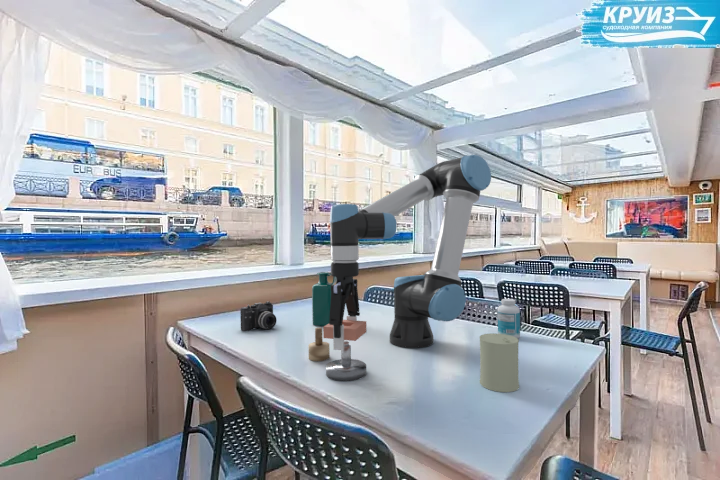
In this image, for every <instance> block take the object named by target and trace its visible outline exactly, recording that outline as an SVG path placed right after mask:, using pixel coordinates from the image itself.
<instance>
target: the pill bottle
mask: <svg viewBox="0 0 720 480" xmlns="http://www.w3.org/2000/svg"><path fill="white" fill-rule="evenodd" d="M500 304H501V305H499V306H498V307H497V334H505V335H510V336H513V337H516V338H517V339H518V340H519V339H520V338H521V314H520V313H521V309H520V308H519V306H517V305H516V299H515V298H502V299H501V303H500Z"/></svg>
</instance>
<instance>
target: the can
mask: <svg viewBox="0 0 720 480" xmlns="http://www.w3.org/2000/svg"><path fill="white" fill-rule="evenodd" d="M519 342H520V340H519V338H518V339H517V338H516V337H513V336H510V335H505V334H498V333H484V334H481V335H480V336H479V359H480V360H479V362H480V364H479V365H480V369H479V372H480V375H479V377H480V378H479V384H480V385H481V387H483V388H485V389H487V390H490V391H492V392H499V393H513V392H516V391H518V390H519V389H520V384H519V383H520V382H519V381H520V380H519Z"/></svg>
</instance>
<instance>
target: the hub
mask: <svg viewBox="0 0 720 480" xmlns="http://www.w3.org/2000/svg"><path fill="white" fill-rule="evenodd" d="M351 350H352V346H351V344H350V341H349V340H344V350H340V351H341V352H340V356H341V357H340V358H341V359H335V360H332V361H330V362H328V363H327V364H326V366H325V375H326V378H329V380H332V381H337V382H354V381H357V380H361V379H363V378H365V376H366V375H367V364H366V363H365V362H364V361H362V360H359V359H353V358H352V351H351Z"/></svg>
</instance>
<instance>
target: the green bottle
mask: <svg viewBox="0 0 720 480" xmlns="http://www.w3.org/2000/svg"><path fill="white" fill-rule="evenodd" d="M316 275H318V282H317V283H315V284H313V285H312V287H311V297H312V298H311V305H312V307H311V308H312V309H311V311H312V314H311V315H312V325H313V326H315V327H316V326H317V327H324V326H326V325H327V324H329V317H330V304H331V285H336V280H337V278H336V277H333V276H332V275H331V272H328V271H320V272H316ZM331 276H332V277H333V278H332V282H329V280H328V278H329V277H331Z"/></svg>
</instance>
